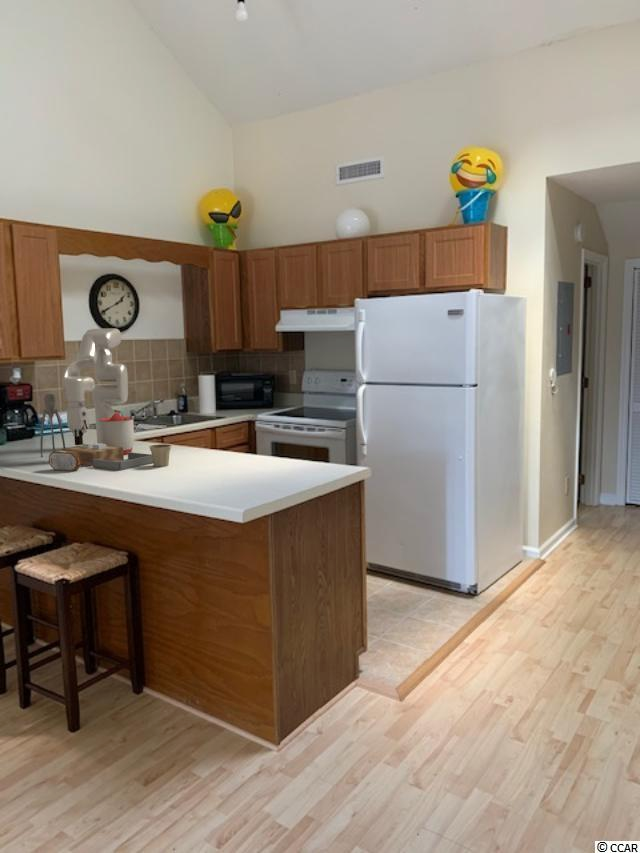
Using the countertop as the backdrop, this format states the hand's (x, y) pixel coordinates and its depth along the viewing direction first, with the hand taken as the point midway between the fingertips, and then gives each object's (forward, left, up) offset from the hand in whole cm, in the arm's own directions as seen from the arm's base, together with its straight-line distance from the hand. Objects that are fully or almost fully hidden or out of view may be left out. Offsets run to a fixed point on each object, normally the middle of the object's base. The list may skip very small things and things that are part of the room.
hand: (79, 444), depth 306 cm
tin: (+20, +17, -7) cm, 27 cm away
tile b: (0, +14, -1) cm, 14 cm away
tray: (0, +30, -7) cm, 31 cm away
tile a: (0, +7, -1) cm, 7 cm away
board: (0, +9, -7) cm, 11 cm away
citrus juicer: (-20, +4, -7) cm, 22 cm away
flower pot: (-6, +46, -7) cm, 47 cm away
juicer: (+2, -19, -7) cm, 20 cm away
